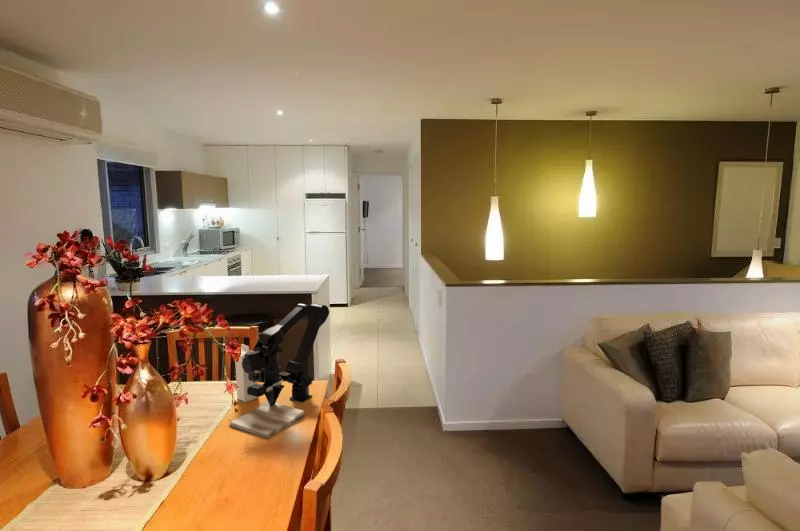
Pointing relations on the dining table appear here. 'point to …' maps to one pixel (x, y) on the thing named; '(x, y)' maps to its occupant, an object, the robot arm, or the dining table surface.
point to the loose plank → (281, 411)
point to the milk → (243, 377)
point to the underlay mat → (273, 434)
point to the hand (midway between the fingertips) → (272, 405)
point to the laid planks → (261, 423)
